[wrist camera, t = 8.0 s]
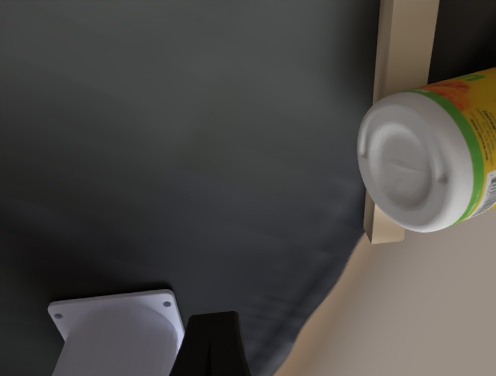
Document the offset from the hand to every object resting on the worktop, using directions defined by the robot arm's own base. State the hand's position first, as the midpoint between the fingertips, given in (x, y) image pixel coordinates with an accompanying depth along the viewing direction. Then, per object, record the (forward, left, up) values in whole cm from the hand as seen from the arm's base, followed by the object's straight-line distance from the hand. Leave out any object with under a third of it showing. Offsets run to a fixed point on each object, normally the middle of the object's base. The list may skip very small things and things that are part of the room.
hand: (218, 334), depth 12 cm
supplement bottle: (+2, -7, -5) cm, 9 cm away
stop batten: (+1, -9, -10) cm, 14 cm away
